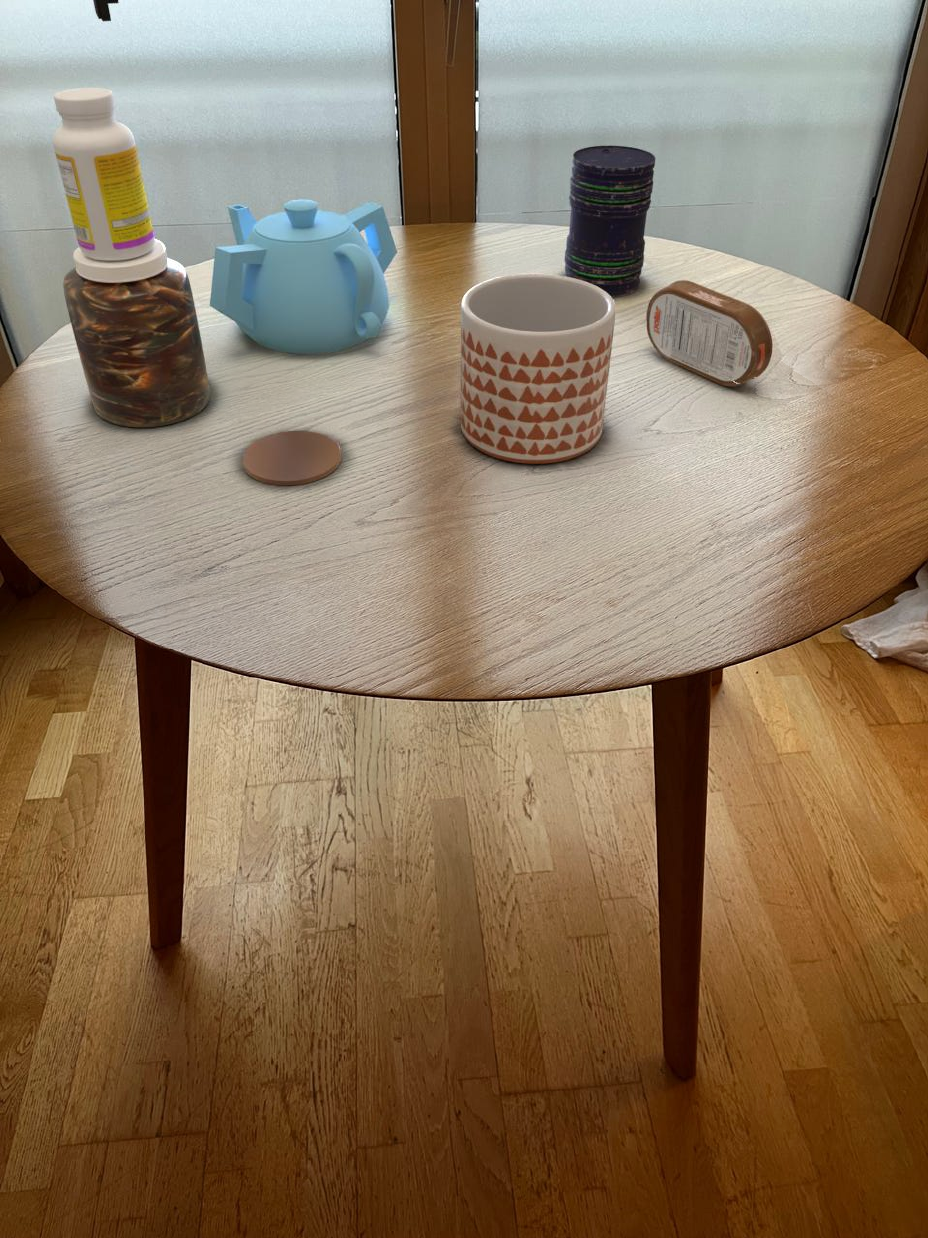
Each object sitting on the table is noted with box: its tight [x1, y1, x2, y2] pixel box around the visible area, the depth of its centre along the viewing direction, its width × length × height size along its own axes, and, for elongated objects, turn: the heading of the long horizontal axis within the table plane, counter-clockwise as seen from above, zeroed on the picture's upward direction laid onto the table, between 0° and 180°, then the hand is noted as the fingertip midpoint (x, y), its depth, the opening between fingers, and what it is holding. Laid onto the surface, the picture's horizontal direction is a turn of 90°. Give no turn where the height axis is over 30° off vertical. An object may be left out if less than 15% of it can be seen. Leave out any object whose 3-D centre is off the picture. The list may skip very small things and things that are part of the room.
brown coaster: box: [241, 430, 342, 486], centre depth 88 cm, size 9×9×1 cm
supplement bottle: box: [52, 87, 156, 261], centre depth 83 cm, size 7×7×13 cm
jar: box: [62, 238, 211, 428], centre depth 92 cm, size 12×12×15 cm
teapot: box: [209, 198, 398, 355], centre depth 106 cm, size 19×19×14 cm
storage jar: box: [563, 145, 656, 298], centre depth 117 cm, size 10×10×15 cm
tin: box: [645, 279, 774, 387], centre depth 100 cm, size 15×3×8 cm, turn 40°
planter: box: [460, 273, 617, 465], centre depth 89 cm, size 14×14×13 cm
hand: (22, 20), depth 59 cm, fingers open, 9 cm apart
